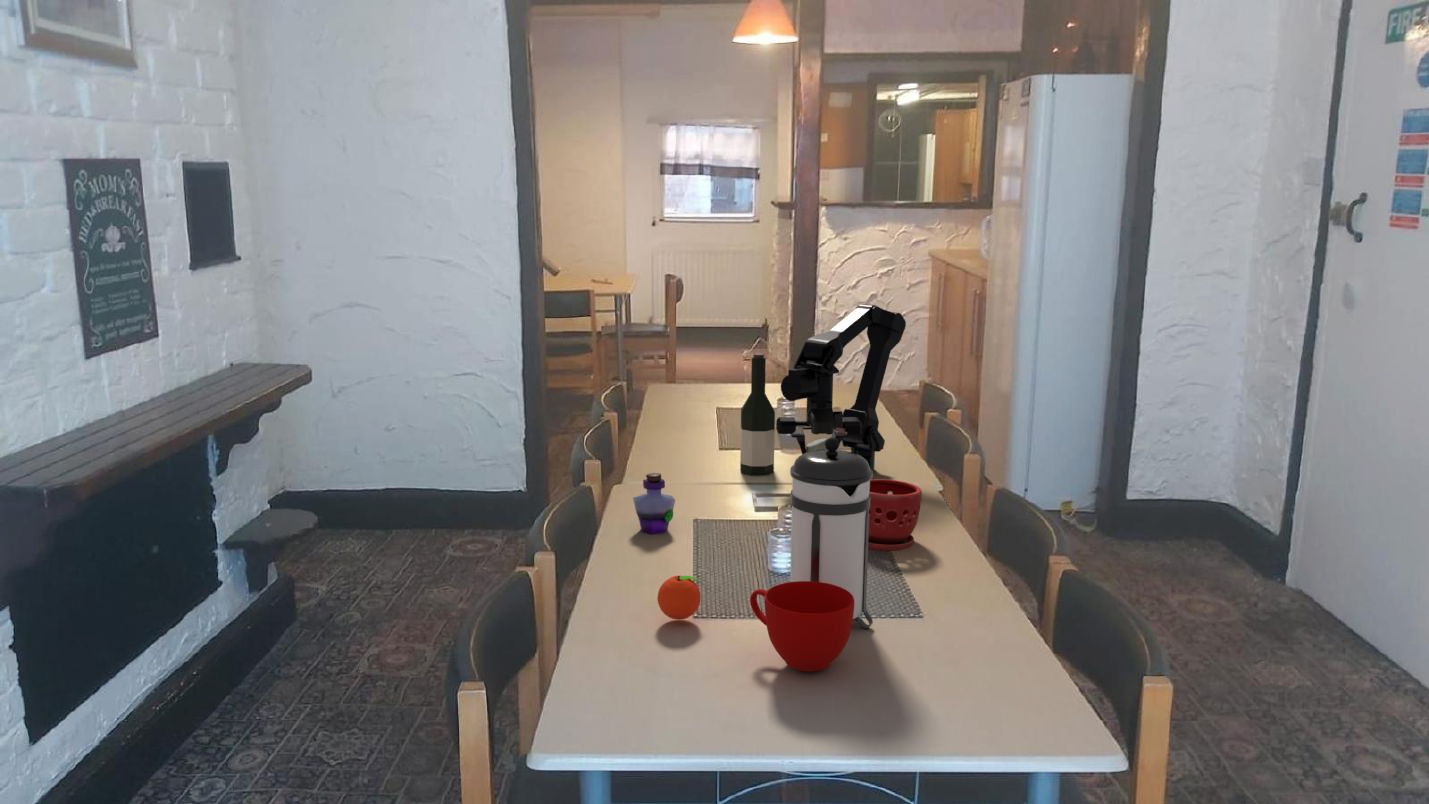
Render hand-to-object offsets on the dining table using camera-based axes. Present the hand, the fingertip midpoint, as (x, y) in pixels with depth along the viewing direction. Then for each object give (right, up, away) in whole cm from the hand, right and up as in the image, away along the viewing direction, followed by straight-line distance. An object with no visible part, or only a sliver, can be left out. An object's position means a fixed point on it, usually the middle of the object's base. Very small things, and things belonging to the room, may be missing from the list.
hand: (817, 462), depth 243 cm
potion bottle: (-35, -13, -27) cm, 46 cm away
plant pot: (+10, -14, -34) cm, 38 cm away
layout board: (+1, -9, -10) cm, 14 cm away
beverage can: (+3, -7, +2) cm, 7 cm away
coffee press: (-6, -21, -69) cm, 72 cm away
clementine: (-28, -21, -70) cm, 78 cm away
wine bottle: (-13, -5, +13) cm, 19 cm away
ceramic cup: (-11, -24, -84) cm, 88 cm away
